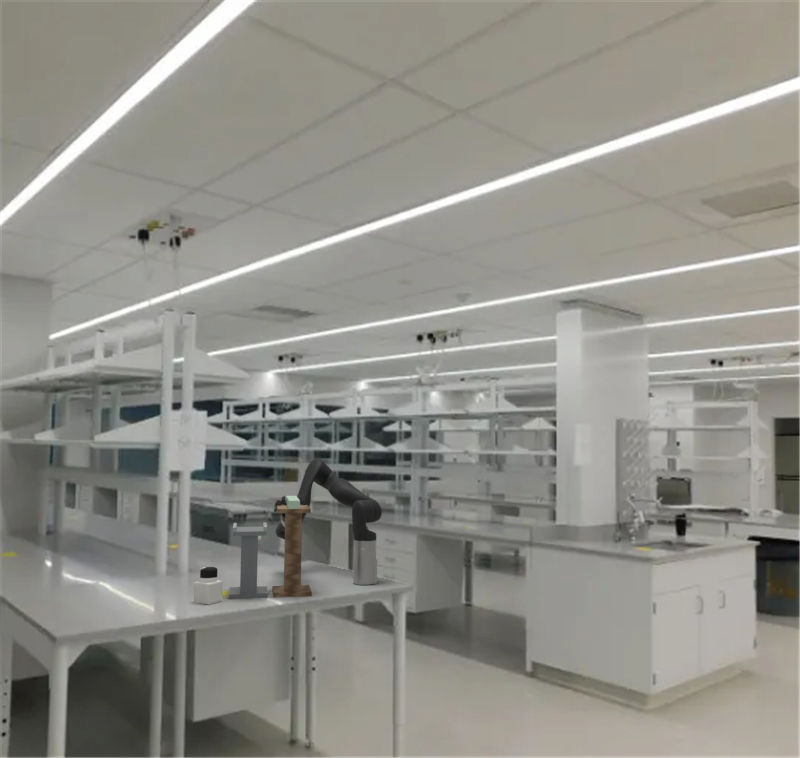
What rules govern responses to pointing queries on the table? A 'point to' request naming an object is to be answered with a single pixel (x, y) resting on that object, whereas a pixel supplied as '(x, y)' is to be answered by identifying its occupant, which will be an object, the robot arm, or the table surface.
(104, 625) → the table surface
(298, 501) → the slide box
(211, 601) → the medicine bottle
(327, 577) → the table surface
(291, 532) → the brown pedestal stand
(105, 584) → the table surface
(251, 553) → the gray pedestal stand
